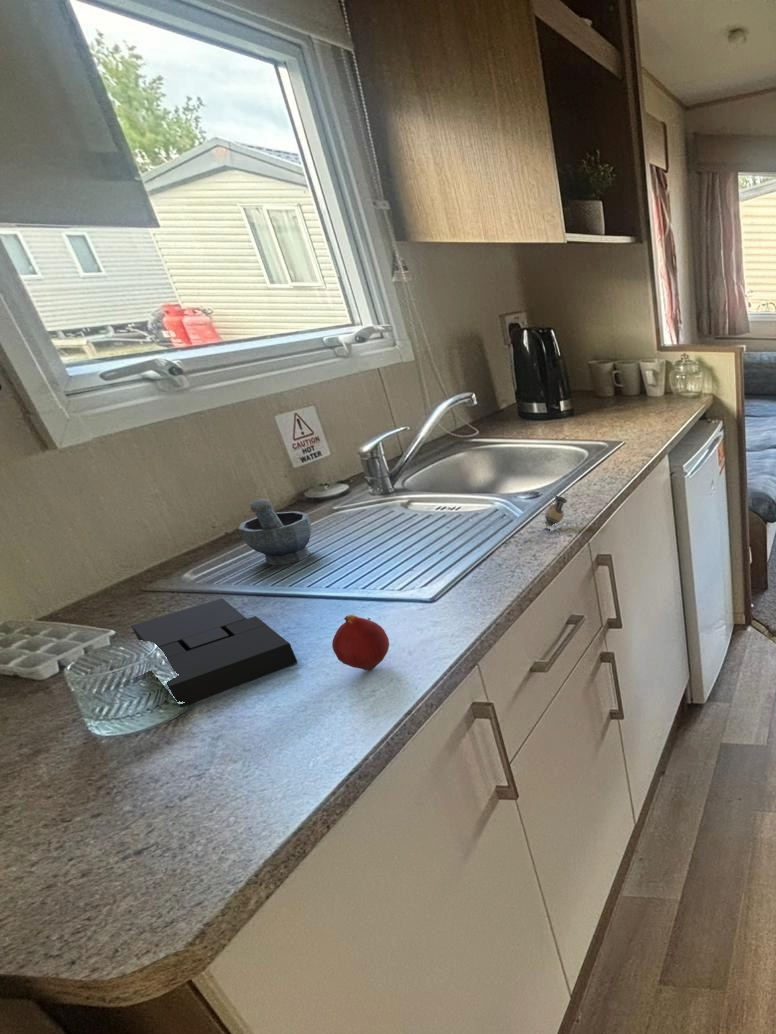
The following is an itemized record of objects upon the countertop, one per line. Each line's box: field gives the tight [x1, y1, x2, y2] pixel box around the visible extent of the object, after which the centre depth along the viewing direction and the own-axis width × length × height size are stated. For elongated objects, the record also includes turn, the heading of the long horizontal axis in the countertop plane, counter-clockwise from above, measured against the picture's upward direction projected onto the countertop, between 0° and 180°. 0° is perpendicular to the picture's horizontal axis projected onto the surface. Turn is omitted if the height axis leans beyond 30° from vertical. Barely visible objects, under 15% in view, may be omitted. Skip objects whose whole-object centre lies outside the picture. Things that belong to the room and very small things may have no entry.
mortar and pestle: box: [238, 498, 313, 566], centre depth 111 cm, size 11×9×12 cm
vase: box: [537, 495, 568, 533], centre depth 127 cm, size 5×5×6 cm
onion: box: [331, 614, 390, 671], centre depth 82 cm, size 6×6×8 cm
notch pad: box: [159, 615, 298, 708], centre depth 83 cm, size 12×12×3 cm
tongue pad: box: [130, 598, 248, 651], centre depth 88 cm, size 14×10×3 cm
